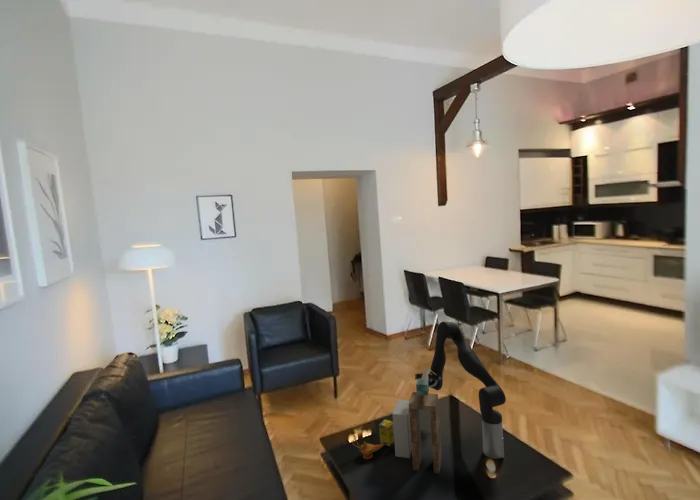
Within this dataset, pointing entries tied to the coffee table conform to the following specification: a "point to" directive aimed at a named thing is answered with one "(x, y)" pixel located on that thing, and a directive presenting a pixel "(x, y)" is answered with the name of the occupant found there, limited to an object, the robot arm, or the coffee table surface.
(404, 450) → the grey pedestal
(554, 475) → the coffee table surface
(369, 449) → the magic lamp
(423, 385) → the mallet
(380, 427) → the supplement box
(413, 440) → the brown tall legged stand
